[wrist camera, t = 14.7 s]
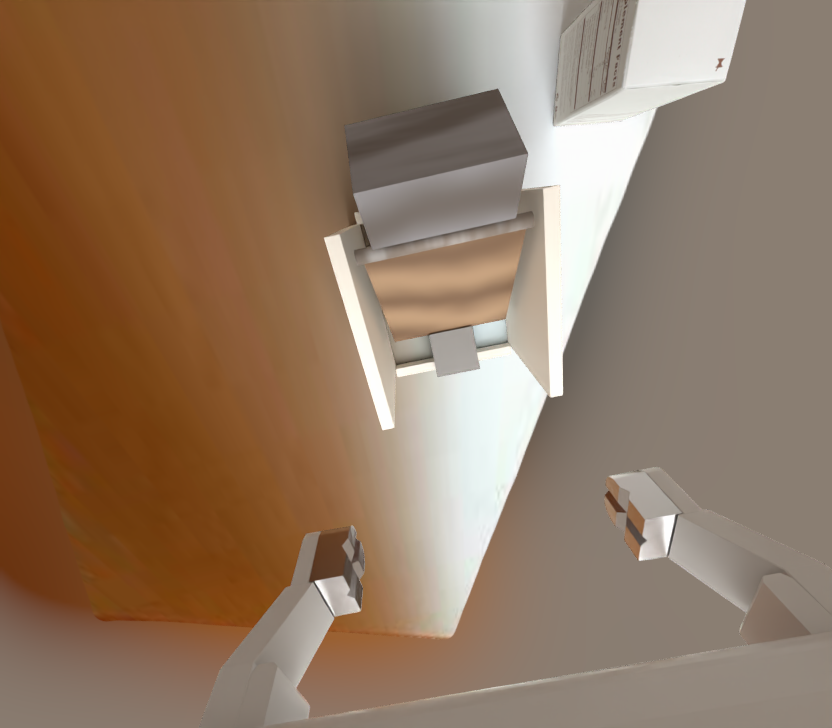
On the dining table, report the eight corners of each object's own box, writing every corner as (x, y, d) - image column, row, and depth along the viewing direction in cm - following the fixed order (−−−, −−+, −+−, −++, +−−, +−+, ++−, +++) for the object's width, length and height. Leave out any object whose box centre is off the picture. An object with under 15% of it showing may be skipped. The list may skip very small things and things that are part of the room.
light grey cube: (437, 377, 39) (436, 370, 44) (480, 368, 39) (473, 363, 44) (429, 334, 39) (428, 333, 44) (472, 326, 38) (466, 325, 43)
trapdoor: (324, 130, 24) (329, 200, 21) (519, 83, 23) (553, 149, 20) (383, 293, 42) (390, 343, 39) (494, 270, 42) (510, 318, 39)
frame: (346, 214, 37) (318, 220, 25) (504, 178, 36) (559, 166, 24) (389, 374, 46) (385, 439, 33) (517, 348, 45) (562, 405, 33)
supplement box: (636, 27, 32) (770, -72, 20) (620, 123, 35) (728, 85, 23) (558, 32, 31) (648, -65, 20) (549, 128, 35) (622, 91, 23)
